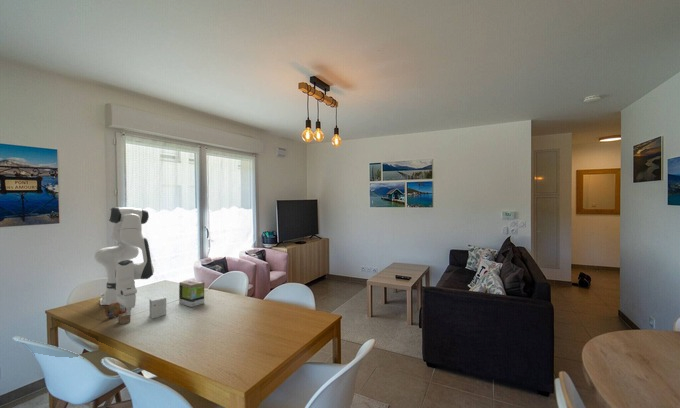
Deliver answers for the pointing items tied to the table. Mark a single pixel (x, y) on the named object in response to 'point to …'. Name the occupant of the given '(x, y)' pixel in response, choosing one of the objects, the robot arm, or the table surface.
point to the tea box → (191, 293)
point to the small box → (157, 307)
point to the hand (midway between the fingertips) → (125, 312)
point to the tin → (114, 310)
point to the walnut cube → (124, 318)
